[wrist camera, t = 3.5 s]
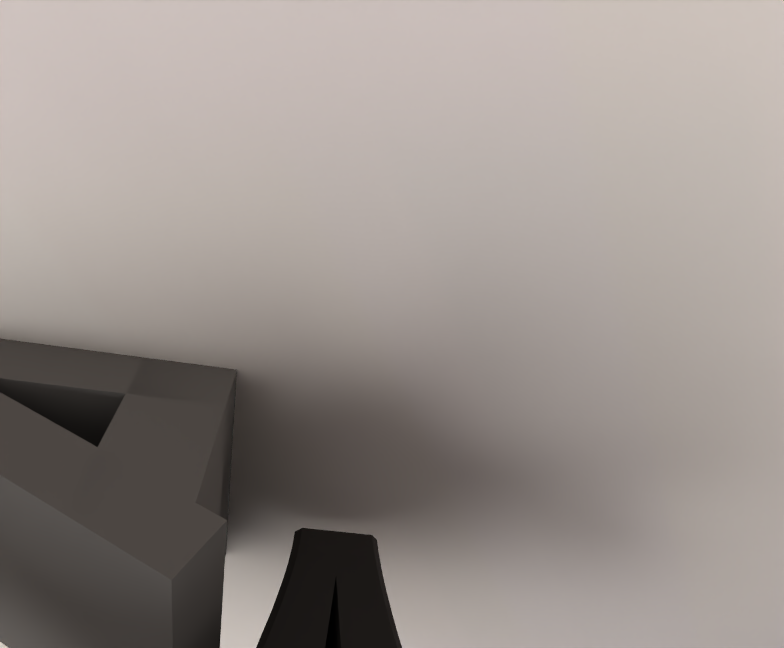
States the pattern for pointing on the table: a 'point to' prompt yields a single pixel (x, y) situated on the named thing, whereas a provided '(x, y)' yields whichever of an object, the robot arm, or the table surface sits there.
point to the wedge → (112, 499)
